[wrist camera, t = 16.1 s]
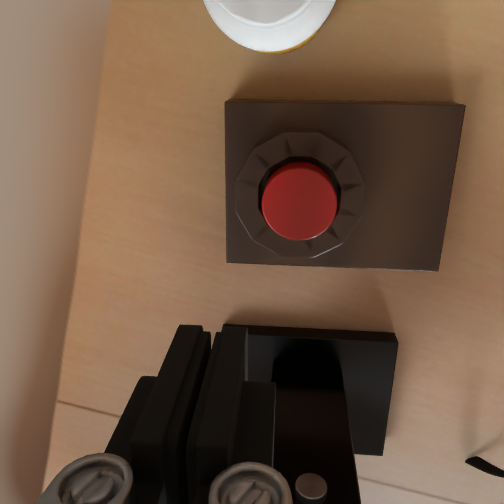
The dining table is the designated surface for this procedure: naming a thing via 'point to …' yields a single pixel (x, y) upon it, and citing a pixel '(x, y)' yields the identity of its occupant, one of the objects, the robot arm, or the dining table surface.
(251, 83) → the dining table surface
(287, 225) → the button
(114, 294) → the dining table surface
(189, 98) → the dining table surface
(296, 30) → the supplement bottle
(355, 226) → the button block
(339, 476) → the bracket
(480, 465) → the eyeglasses
